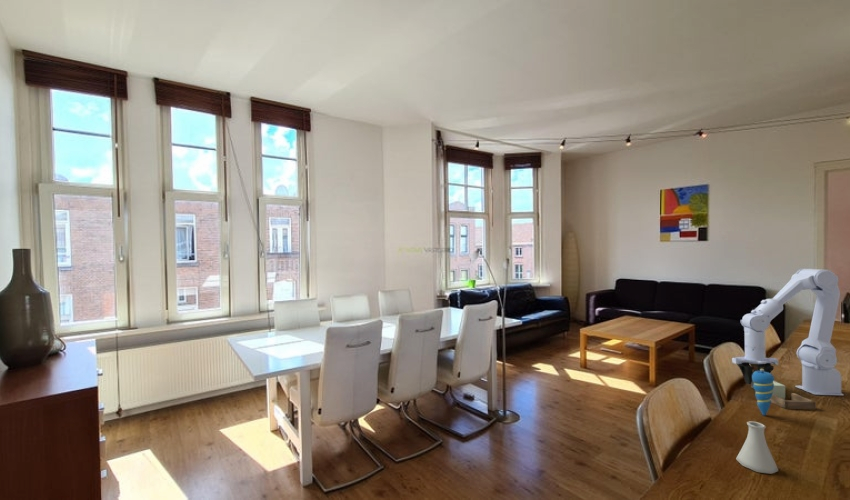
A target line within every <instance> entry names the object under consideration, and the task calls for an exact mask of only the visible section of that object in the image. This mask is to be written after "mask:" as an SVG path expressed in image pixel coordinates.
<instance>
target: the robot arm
mask: <svg viewBox="0 0 850 500" xmlns="http://www.w3.org/2000/svg"><path fill="white" fill-rule="evenodd" d="M838 282H839V276H837V275H836V274H835V273H834V272H833V271H832V270H829V269H827V268H826V269H823V268H822V269H818V268H817V269H816V268H809V267H808V268H807V267H805V268H804V267H802V268H800V269H798V270H797V271H796V272H795V273H794V274H792V275H791V278H790V280H789V281H788V282H787V283H786V284H785V285H784V286H783V288H781V289H780V290H779V291H778V292H777V293H776V294H775V295H774V296H773V297H772V298H766V299H762V300H761V301H760V304H759V305H758V306H757V307H755V308H754V309H752V310H751V311H750V313H746V314H744V315H743V316H742V319H740V324H741V326H742V327H743V331H744V356H738V357H732V358H731V363H732V364H735V365H737V367H738V368H739V370H740V371H741V374H742V376H743V380H744V382H745V383H746V384H747V385H751V383H752V374H753V373H754V369H755V367H754V366H752V365H756V367H757V368H756V369H757V371H760V369H764V372H768V373H770V374H772V373H771V372H772V371H773V370H774V369H775V367H774V366H773V365H776V366H779V359H778V358H774V357H766V331H767V330H768V329H769V328H770V325H771V324H770V323H771V321H772V320H773V319H775V318H776V317H777V316H779V314H780V313H781V312H783V310H784V304H785V303H787V302H789V301H790V300H791V299H792V298H793V297H795V296H796V295H798V293H800V292H802V291H804V290H810V291H812V293H813V294H814V295H815V296H816V299H815V304H814V309H813V314H812V318H811V324H810V328H809V333H808V337H807V338H805V339H803V340H802V341H801V344H800V346H799V347H798V348H797V350H796V356H797V358H798V359H799V360H800V363H801V382H802V383H801V385H795V388H798V389H800V390H802V391H805V392H807V393H810V394H812V395H814V396H845V394H844V393H842V375H841V372H840V371H839V370H838V369H837V368H835V366H837V363H838V358H837V355H836V353H837V349H836V348H835V346H834V345H833V344H832V343H831V340H832V335H833V331H834V325H835V321H836V316H837V311H838V306H839V302H840V298H841V292H840V288H839V285H838V284H839V283H838Z"/></svg>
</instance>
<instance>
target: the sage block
mask: <svg viewBox="0 0 850 500" xmlns="http://www.w3.org/2000/svg"><path fill="white" fill-rule="evenodd" d="M752 375H753V373H752ZM773 384H774V388H773V390H772V392H773V395H775V396H778V397H780V398H782V399H784V400H786V385H784V384H782V383H780V382H777V381H776V380H774V381H773ZM753 385H754V382H753V380H752V383H751V384H750V386H751V387H750V388H752V389H754V387H753ZM754 390H755V389H754Z"/></svg>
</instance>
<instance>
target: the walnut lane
mask: <svg viewBox="0 0 850 500" xmlns="http://www.w3.org/2000/svg"><path fill="white" fill-rule="evenodd" d="M790 395H791V400H790V399H787V400H786V399H782V398H780V397H778V396H775V395H773V394H772V397H771V403H772V404H775V405H776V406H778V407H780V408H782V409H784V410H816V409H817V408H816V401H813V400H811V399H809V398H806V397H804V396H802V395H799V394H797V393H796V392H795V393H794V392H791V394H790Z"/></svg>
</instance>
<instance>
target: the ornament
mask: <svg viewBox="0 0 850 500" xmlns="http://www.w3.org/2000/svg"><path fill="white" fill-rule="evenodd" d="M752 374H753V375H752V380H753V382H754V385H753V387H754V391H755V395H754V396H755V398H756V400H757V401H756V404H757V407H758V409H759V411H760V413H761V414H762V416H767V413H768V411H769V409H770V406H771V403H772V402H771V397H772V394H773V392H772V390H773V388H774V384H773V381H775V376H774V375H773V374H772V373H768V372H764V369H760V371H758V370H755V371H753V372H752Z"/></svg>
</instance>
